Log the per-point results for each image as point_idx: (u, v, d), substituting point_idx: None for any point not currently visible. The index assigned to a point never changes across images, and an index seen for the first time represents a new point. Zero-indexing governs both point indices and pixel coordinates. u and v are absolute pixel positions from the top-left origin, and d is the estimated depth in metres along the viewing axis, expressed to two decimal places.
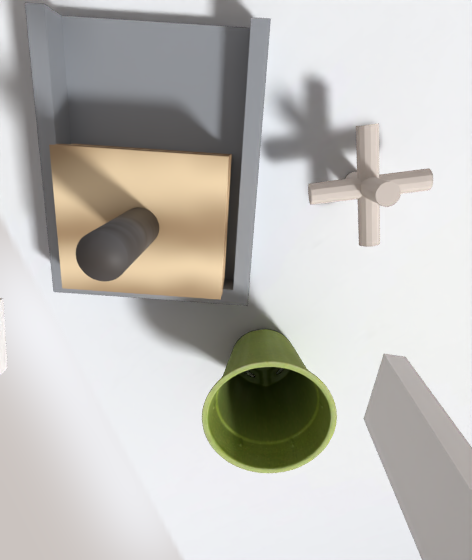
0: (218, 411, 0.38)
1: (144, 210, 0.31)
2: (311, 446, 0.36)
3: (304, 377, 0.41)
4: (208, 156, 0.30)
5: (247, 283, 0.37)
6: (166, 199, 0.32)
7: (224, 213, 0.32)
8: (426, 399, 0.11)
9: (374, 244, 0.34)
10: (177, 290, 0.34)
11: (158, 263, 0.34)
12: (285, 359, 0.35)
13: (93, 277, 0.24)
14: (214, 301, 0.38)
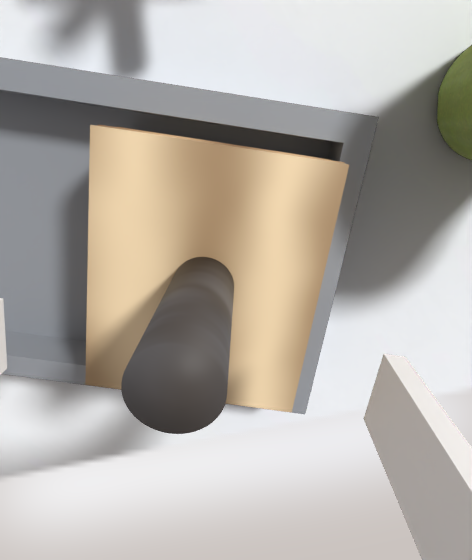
0: None
1: (173, 276, 0.19)
2: None
3: None
4: (91, 160, 0.18)
5: (335, 114, 0.20)
6: (160, 238, 0.20)
7: (187, 141, 0.18)
8: (426, 399, 0.11)
9: None
10: (319, 242, 0.19)
11: (266, 267, 0.20)
12: None
13: (216, 413, 0.12)
14: (359, 179, 0.22)
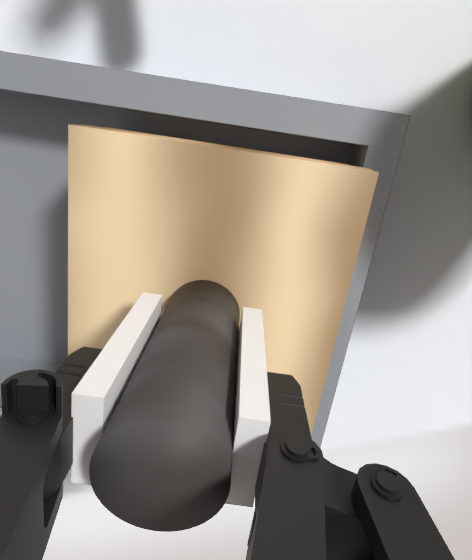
0: None
1: None
2: None
3: None
4: (70, 166, 0.15)
5: (358, 111, 0.17)
6: (153, 259, 0.17)
7: (184, 144, 0.15)
8: (254, 337, 0.13)
9: None
10: (341, 263, 0.16)
11: (277, 293, 0.17)
12: None
13: (216, 507, 0.09)
14: (386, 188, 0.18)
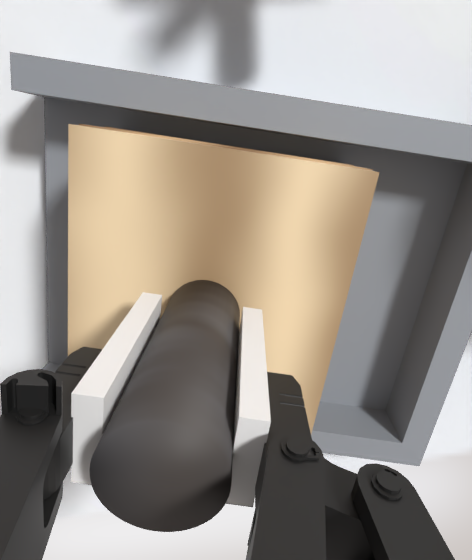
0: None
1: None
2: None
3: None
4: (70, 166, 0.15)
5: None
6: (153, 258, 0.17)
7: (184, 144, 0.15)
8: (254, 337, 0.13)
9: None
10: (341, 264, 0.16)
11: (278, 293, 0.17)
12: None
13: (216, 507, 0.09)
14: None
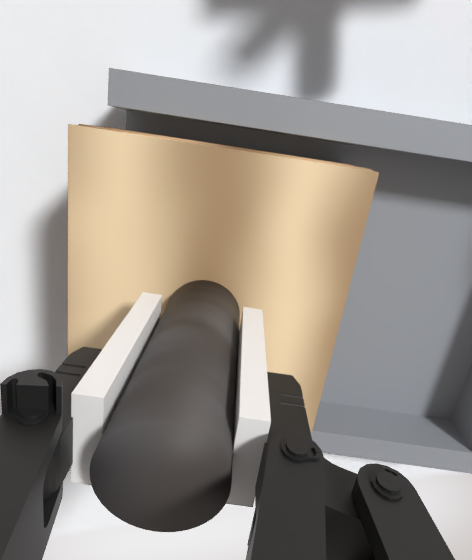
0: None
1: None
2: None
3: None
4: (70, 166, 0.15)
5: None
6: (153, 259, 0.17)
7: (184, 144, 0.15)
8: (254, 337, 0.13)
9: None
10: (341, 264, 0.16)
11: (277, 293, 0.17)
12: None
13: (217, 507, 0.09)
14: None
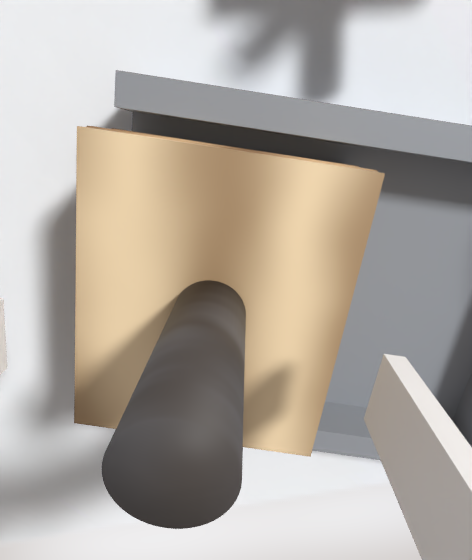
0: None
1: (174, 303, 0.17)
2: None
3: None
4: (78, 168, 0.16)
5: None
6: (160, 259, 0.17)
7: (191, 145, 0.15)
8: (426, 399, 0.11)
9: None
10: (347, 264, 0.16)
11: (283, 293, 0.17)
12: None
13: (227, 505, 0.09)
14: None
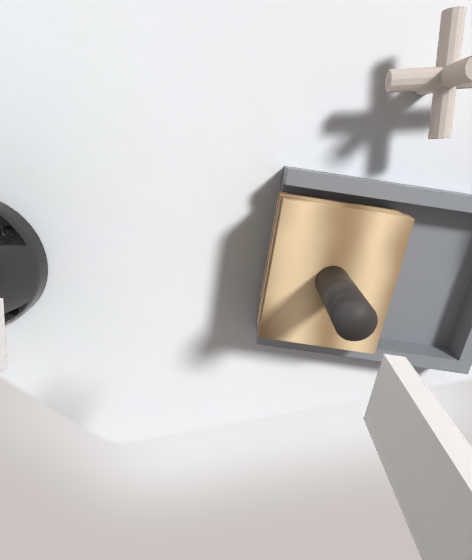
0: None
1: (318, 276, 0.37)
2: None
3: None
4: (281, 216, 0.36)
5: None
6: (312, 256, 0.37)
7: (331, 207, 0.35)
8: (426, 399, 0.11)
9: None
10: (396, 258, 0.37)
11: (367, 271, 0.37)
12: None
13: (371, 331, 0.29)
14: None
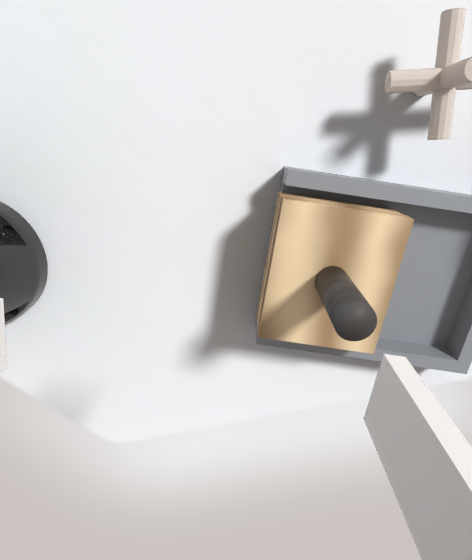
0: None
1: (318, 276, 0.37)
2: None
3: None
4: (281, 216, 0.36)
5: None
6: (311, 256, 0.37)
7: (331, 207, 0.35)
8: (426, 399, 0.11)
9: None
10: (396, 258, 0.37)
11: (366, 271, 0.37)
12: None
13: (371, 332, 0.29)
14: None
